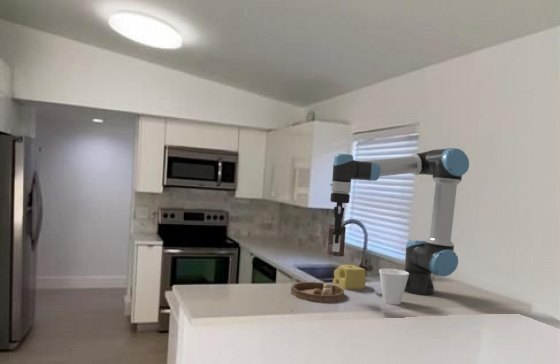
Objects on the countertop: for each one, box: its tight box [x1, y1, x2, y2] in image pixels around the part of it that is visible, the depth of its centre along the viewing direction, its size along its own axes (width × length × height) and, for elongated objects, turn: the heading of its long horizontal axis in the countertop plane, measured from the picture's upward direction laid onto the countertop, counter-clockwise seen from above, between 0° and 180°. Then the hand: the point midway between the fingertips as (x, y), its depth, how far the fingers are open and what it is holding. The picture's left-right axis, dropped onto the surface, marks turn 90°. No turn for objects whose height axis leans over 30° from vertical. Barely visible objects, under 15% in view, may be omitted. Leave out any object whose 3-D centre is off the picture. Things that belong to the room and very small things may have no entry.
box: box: [326, 224, 347, 258], centre depth 171 cm, size 6×4×12 cm
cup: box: [378, 268, 409, 306], centre depth 174 cm, size 12×12×12 cm
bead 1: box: [323, 282, 333, 289], centre depth 176 cm, size 4×4×4 cm
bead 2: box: [322, 288, 332, 295], centre depth 168 cm, size 4×4×4 cm
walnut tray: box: [290, 281, 345, 303], centre depth 173 cm, size 21×21×4 cm
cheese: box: [332, 264, 367, 290], centre depth 191 cm, size 10×11×10 cm
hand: (335, 249), depth 171 cm, fingers closed on box, 7 cm apart
